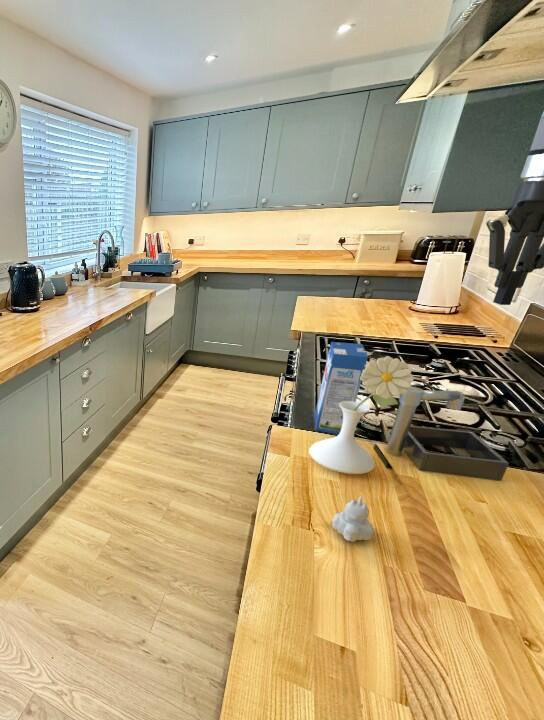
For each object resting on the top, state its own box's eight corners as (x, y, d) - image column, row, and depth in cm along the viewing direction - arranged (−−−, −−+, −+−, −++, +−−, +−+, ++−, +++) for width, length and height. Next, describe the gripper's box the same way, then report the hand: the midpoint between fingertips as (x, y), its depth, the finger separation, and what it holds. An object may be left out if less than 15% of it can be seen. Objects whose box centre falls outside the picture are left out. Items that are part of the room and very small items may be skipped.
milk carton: (346, 435, 99) (367, 356, 92) (315, 430, 102) (333, 353, 95) (343, 418, 107) (362, 344, 99) (314, 413, 110) (331, 341, 102)
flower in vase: (302, 467, 89) (328, 357, 79) (312, 444, 97) (336, 341, 87) (380, 489, 81) (419, 370, 71) (384, 462, 89) (419, 351, 79)
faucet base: (395, 450, 92) (412, 396, 87) (410, 470, 86) (430, 413, 80) (373, 448, 94) (389, 394, 89) (386, 467, 87) (404, 410, 82)
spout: (453, 404, 85) (459, 386, 83) (465, 411, 82) (472, 393, 80) (394, 403, 87) (399, 386, 85) (403, 410, 84) (409, 392, 82)
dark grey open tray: (464, 454, 90) (473, 431, 88) (498, 488, 79) (509, 463, 77) (393, 446, 94) (400, 424, 92) (416, 477, 84) (424, 453, 82)
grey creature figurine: (370, 532, 71) (383, 494, 68) (367, 556, 66) (380, 516, 63) (332, 519, 74) (342, 482, 71) (326, 541, 70) (337, 503, 67)
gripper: (581, 176, 79) (531, 300, 88) (491, 182, 84) (452, 299, 93) (614, 174, 73) (556, 308, 82) (514, 181, 77) (470, 306, 86)
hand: (501, 303), depth 87 cm, fingers closed
